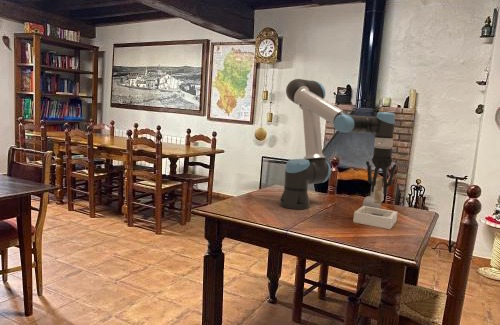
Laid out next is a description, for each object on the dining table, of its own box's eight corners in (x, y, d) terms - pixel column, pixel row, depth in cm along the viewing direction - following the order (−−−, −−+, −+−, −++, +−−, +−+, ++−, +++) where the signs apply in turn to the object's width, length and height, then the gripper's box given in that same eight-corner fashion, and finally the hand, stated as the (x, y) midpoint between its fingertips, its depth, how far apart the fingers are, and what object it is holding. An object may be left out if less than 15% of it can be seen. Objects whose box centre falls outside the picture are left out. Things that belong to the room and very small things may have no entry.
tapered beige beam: (374, 202, 164) (376, 178, 163) (376, 201, 168) (378, 177, 166) (379, 203, 163) (382, 179, 162) (381, 202, 166) (384, 178, 165)
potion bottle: (381, 214, 181) (385, 177, 179) (362, 212, 183) (366, 176, 180) (379, 209, 189) (382, 175, 187) (361, 208, 191) (364, 173, 189)
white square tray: (353, 222, 164) (354, 212, 163) (362, 214, 177) (362, 205, 177) (390, 229, 156) (391, 219, 156) (396, 221, 169) (397, 211, 169)
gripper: (362, 146, 163) (358, 199, 166) (400, 149, 155) (395, 204, 158) (367, 145, 169) (362, 196, 172) (403, 148, 162) (398, 201, 164)
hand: (378, 200), depth 165 cm, fingers closed on tapered beige beam, 2 cm apart
